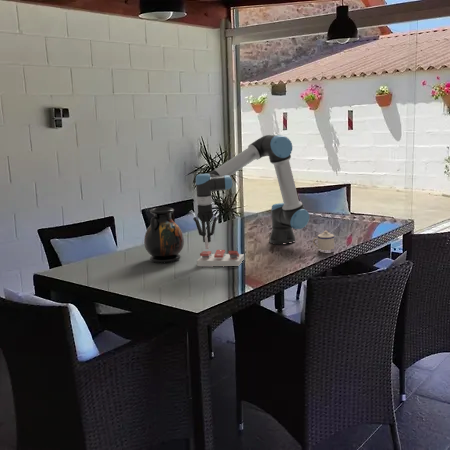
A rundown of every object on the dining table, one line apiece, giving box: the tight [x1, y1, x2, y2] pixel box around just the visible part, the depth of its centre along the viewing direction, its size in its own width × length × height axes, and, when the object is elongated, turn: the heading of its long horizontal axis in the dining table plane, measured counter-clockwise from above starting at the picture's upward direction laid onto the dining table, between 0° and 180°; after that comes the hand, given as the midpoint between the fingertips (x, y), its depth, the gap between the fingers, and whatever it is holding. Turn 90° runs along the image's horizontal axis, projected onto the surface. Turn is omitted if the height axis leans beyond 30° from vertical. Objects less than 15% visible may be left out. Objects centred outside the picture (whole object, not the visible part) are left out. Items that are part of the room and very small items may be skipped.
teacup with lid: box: [312, 230, 335, 250], centre depth 319 cm, size 12×9×12 cm
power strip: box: [196, 253, 245, 268], centre depth 306 cm, size 22×14×3 cm, turn 77°
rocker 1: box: [199, 250, 212, 258], centre depth 305 cm, size 4×6×3 cm
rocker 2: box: [214, 249, 226, 258], centre depth 304 cm, size 4×6×3 cm
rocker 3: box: [227, 250, 240, 258], centre depth 302 cm, size 4×6×3 cm
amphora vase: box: [143, 206, 185, 264], centre depth 315 cm, size 22×22×28 cm
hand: (207, 248), depth 308 cm, fingers closed
